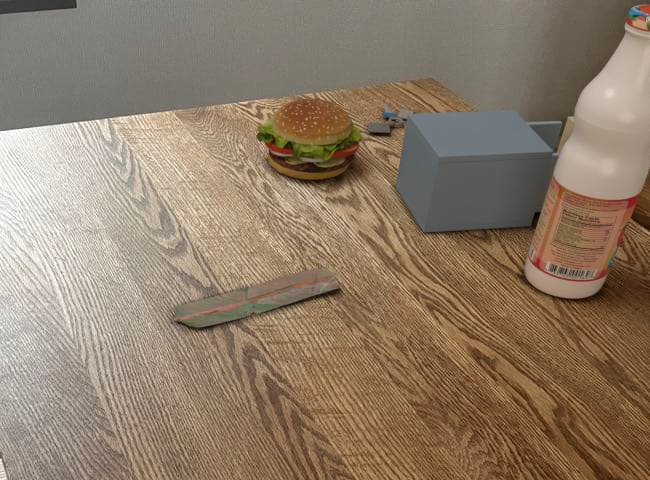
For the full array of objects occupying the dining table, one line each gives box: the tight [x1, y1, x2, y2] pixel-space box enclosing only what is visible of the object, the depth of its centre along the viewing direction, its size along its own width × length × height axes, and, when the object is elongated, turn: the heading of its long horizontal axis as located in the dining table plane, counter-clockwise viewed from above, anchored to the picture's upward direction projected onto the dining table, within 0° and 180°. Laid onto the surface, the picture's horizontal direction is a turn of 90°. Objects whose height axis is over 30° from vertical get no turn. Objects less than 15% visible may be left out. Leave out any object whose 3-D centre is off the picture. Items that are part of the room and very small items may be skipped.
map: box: [173, 267, 340, 328], centre depth 93 cm, size 5×20×1 cm, turn 118°
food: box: [256, 97, 363, 181], centre depth 114 cm, size 14×14×8 cm
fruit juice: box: [524, 4, 650, 300], centre depth 88 cm, size 9×9×28 cm
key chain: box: [367, 103, 415, 134], centre depth 127 cm, size 14×8×1 cm, turn 124°
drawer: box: [525, 115, 574, 213], centre depth 108 cm, size 19×11×8 cm, turn 100°
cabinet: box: [395, 109, 553, 233], centre depth 106 cm, size 15×13×10 cm
